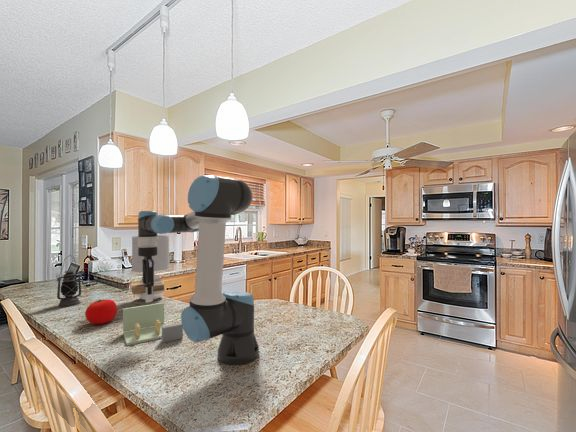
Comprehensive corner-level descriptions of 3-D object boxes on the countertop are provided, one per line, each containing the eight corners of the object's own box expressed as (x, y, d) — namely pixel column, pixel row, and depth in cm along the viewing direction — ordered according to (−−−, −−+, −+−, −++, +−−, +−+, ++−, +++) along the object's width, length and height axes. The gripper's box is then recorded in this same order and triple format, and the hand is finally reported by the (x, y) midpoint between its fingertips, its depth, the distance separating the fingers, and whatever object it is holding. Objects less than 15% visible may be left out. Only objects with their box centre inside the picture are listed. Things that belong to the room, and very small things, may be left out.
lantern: (78, 300, 186) (78, 253, 186) (84, 303, 179) (84, 254, 180) (53, 305, 175) (54, 255, 176) (60, 308, 169) (60, 256, 170)
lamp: (127, 298, 190) (128, 236, 190) (162, 292, 204) (162, 235, 205) (138, 305, 174) (138, 237, 174) (174, 298, 188) (174, 236, 189)
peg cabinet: (171, 336, 127) (171, 310, 127) (126, 345, 118) (126, 318, 118) (163, 325, 140) (163, 302, 140) (122, 333, 130) (123, 308, 131)
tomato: (121, 322, 145) (121, 299, 145) (88, 329, 135) (88, 305, 135) (113, 316, 154) (113, 294, 154) (81, 323, 144) (81, 300, 144)
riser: (182, 338, 124) (182, 324, 124) (162, 343, 120) (162, 328, 120) (181, 336, 126) (181, 322, 126) (161, 341, 122) (161, 326, 122)
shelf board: (164, 290, 127) (164, 284, 127) (133, 294, 121) (133, 288, 121) (161, 287, 132) (161, 282, 132) (131, 291, 126) (131, 285, 126)
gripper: (161, 247, 121) (161, 303, 121) (153, 244, 137) (153, 294, 136) (141, 248, 117) (141, 306, 116) (135, 245, 132) (135, 296, 132)
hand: (147, 300), depth 126 cm, fingers closed on shelf board, 6 cm apart
